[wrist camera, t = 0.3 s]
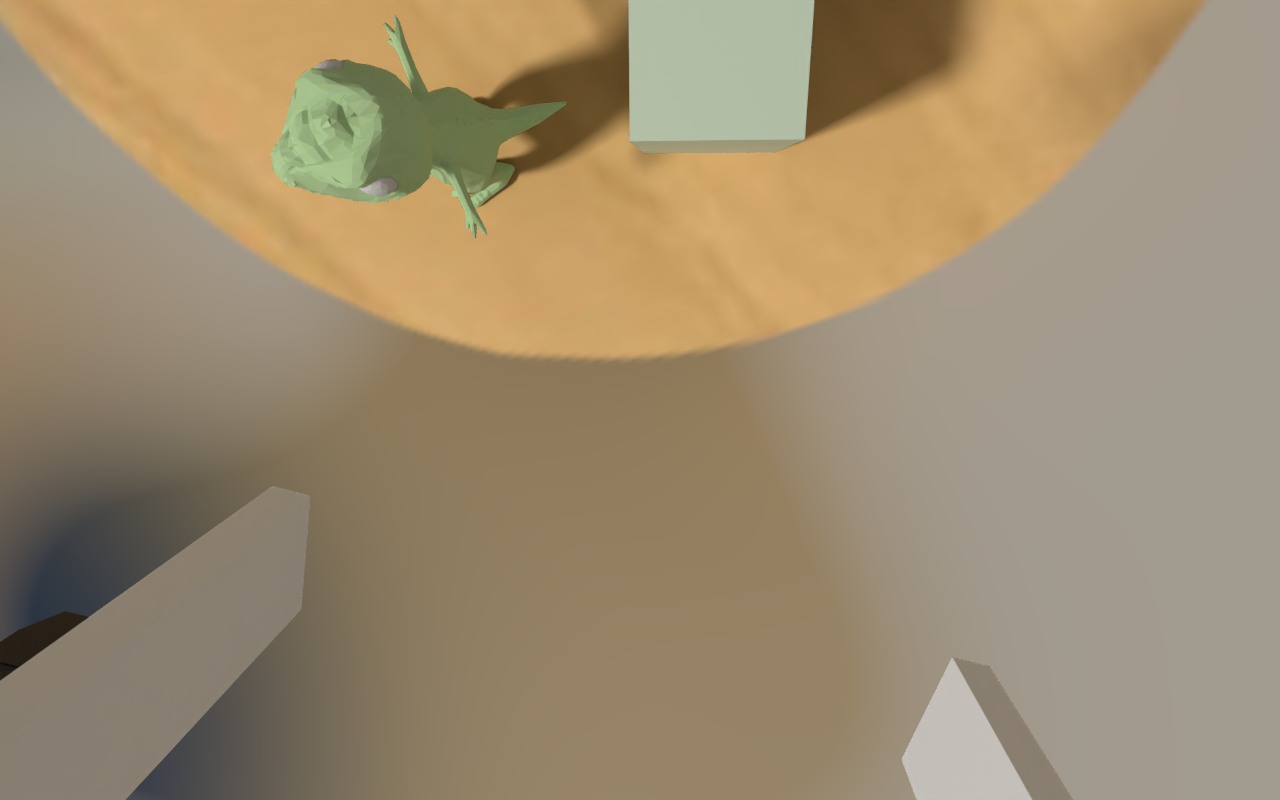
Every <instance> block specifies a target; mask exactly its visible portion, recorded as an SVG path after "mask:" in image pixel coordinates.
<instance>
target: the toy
mask: <svg viewBox="0 0 1280 800" xmlns="http://www.w3.org/2000/svg"><path fill="white" fill-rule="evenodd" d="M394 22H395V31H394V30H393V29H392V28H391V27H390V26H389V25H388V24H386V23H384V27H385V28H386V30H387V32H388V33H389V35H390V36H391V39H392V40H390V39H387V42H388V43H389V44H390V45H391V46H393V47H394V48H395V49H396V50H397V52H398V55H399V57H400V60H401V62H402V64H403V67H404V69H405V72H406V75H407V78H408V81H409V84H410V87H411V90H412V92H411V91H410V89H409V88H408V87H407V86H406V85H405V84H404V83H403V82H402V81H401V80H400V79H399V78H398V77H397V76H396V75H395V74H393V73H391V72H389V71H387V70H384V69H381V68H378V67H375V66H371V65H366V64H359V63H355V62H352V61H350V60H342V61H339V60H336V59H330V60H325V61H323V62H321V63H320V64H319V65H317V66H316V67H315V68H311V69H309V70H307V71H306V72H304V73H303V74H302V75H301V76H300V77H299V78H298V79H297V80H296V82H295V91H294V92H293V94H292V97H291V101H290V108H289V110H288V111H287V120H286V123H285V125H284V127H283V132H282V136H281V138H280V140H279V142H278V144H276V145H275V146H274V148H273V150H272V153H271V156H270V157H271V158H272V164H273V170H274V172H275V174H277V175H278V176H279V177H280V179H281V180H282V181H283V183H285V184H287V185H290V186H294V187H298V188H302V189H305V190H308V191H310V192H313V193H317V194H322V195H330V196H334V197H337V198H344V199H351V200H354V201H362V202H368V203H378V202H381V201H382V202H386V201H387V202H388V199H400V198H402V197H404V196H406V195H408V194H410V193H412V192H414V191H416V190H417V189H419V188H420V187H421V186H422V185H423V184H424V182H425V181H426V180H427V179H428V178H429V175H430V174H432V175H433V176H435V177H436V178H438V179H439V180H440V181H442V182H443V183H445V184H449V185H452V186H453V187H454V190H453V191H452V195H453V196H454V197H459V200H460V202H461V204H462V207H463V209H464V211H465V219H466V228H467V229H468V228H469V226H470V227H471V231H472V235H473V237H474V238H476V229H477V226H478V227H479V228H480V229H481V231H482V232H483V233H484V234H485V235H486V236H487V233H486V229H485V227H484V225H483V223H482V221H481V219H480V217H479V215H478V214H477V212H476V209H475V208H477V207H479V206H480V205H482V204H483V203H484V202H485V201H486V200H488V199H489V198H490V197H492V196H493V195H494V194H496V193H497V192H498V191H500V190H501V189H502V188H504V187H505V186H506V185H507V183H508V182H509V180H510V178H511V176H512V174H513V172H514V170H515V167H514V166H513V165H511V164H507V163H501V162H496V160H497V154H498V148H499V146H500V145H501V143H503V142H505V141H507V140H508V139H510V138H512V137H514V136H516V135H518V134H520V133H522V132H524V131H526V130H528V129H530V128H532V127H533V126H535V125H537V124H539V123H541V122H542V121H544V120H545V119H546V118H548V117H549V116H551V115H552V114H554V113H555V112H556V111H558V110H559V109H561V108H562V107H564V106H565V105H566V104H567V103H566V101H561V102H551V103H541V104H532V105H526V106H521V107H515V108H509V109H496V108H490V107H489V106H487V105H484V104H481V103H478V102H476V101H475V100H474V99H473V98H472V97H470V96H469V95H467V94H465V93H464V92H462V91H460V90H458V89H457V88H452V87H446V88H442V89H438V90H433V91H431V92H428V91H427V89H426V87H425V85H424V83H423V81H422V79H421V77H420V75H419V73H418V71H417V69H416V66H415V64H414V61H413V59H412V56H411V54H410V51H409V49H408V46H407V44H406V41H405V38H404V35H403V31H402V28H401V25H400V22H399V20H398V18H397V17H396V15H394ZM412 93H413V94H412ZM476 192H477V193H476ZM470 193H475V194H474V195H473V196H472V197H471V198H470V196H469V194H470Z"/></svg>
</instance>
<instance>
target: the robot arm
mask: <svg viewBox="0 0 1280 800" xmlns="http://www.w3.org/2000/svg"><path fill="white" fill-rule="evenodd" d="M309 504H310V496H309V495H305V494H302V493H298V492H293V491H290V490H286V489H282V488H277V487H274V486H273V487H271V488H269V489H268V490H266V491H265V492H264V493H262V494H261V495H259V496H258V497H257V498H255V499H254V500H252V501H251V502H250V503H248V504H247V505H245V506H244V507H243V508H241V509H240V510H239V511H237V512H236V513H235V514H233V515H232V516H230V517H229V518H227V519H226V520H224V521H223V522H222V523H220V524H219V525H217V526H216V527H215V528H213V529H212V530H211V531H209V532H208V533H206V534H205V535H203V536H202V537H201V538H199V539H198V540H196V541H195V542H194V543H192V544H191V545H189V546H188V547H187V548H185V549H184V550H182V551H181V552H180V553H178V554H177V555H176V556H174V557H173V558H171V559H170V560H168V561H167V562H166V563H164V564H163V565H162V566H160V567H159V568H157V569H156V570H154V571H153V572H152V573H150V574H149V575H147V576H146V577H145V578H143V579H142V580H141V581H139V582H138V583H136V584H135V585H133V586H132V587H131V588H129V589H128V590H126V591H125V592H124V593H122V594H121V595H119V596H118V597H117V598H115V599H114V600H112V601H111V602H110V603H108V604H107V605H105V606H104V607H103V608H101V609H100V610H98V611H97V612H96V613H94V614H93V615H91V616H90V617H86V616H82V615H78V614H74V613H70V612H66V611H65V612H62V613H60V614H57V615H55V616H52V617H50V618H47V619H45V620H42V621H40V622H37V623H35V624H32V625H30V626H28V627H25V628H22V629H20V630H18V631H16V632H15V633H13V634H12V635H10V636H9V637H7V638H6V639H4V640H3V641H1V642H0V800H125V799H126V798H127V797H128V796H129V795H130V794H131V793H132V792H133V791H134V790H135V789H136V787H137V786H138V785H139V784H140V783H141V782H142V781H143V780H144V779H145V778H146V777H147V776H148V775H149V773H150V772H151V771H152V770H153V769H154V768H155V767H156V766H157V765H158V764H159V763H160V761H161V760H162V759H163V758H164V757H165V756H166V755H167V754H168V753H169V752H170V751H171V750H172V749H173V747H174V746H175V745H176V744H177V743H178V742H179V741H180V740H181V739H182V738H183V737H184V736H185V734H186V733H187V732H188V731H189V730H190V729H191V728H192V727H193V726H194V725H195V724H196V722H197V721H198V720H199V719H200V718H201V717H202V716H203V715H204V714H205V713H206V712H207V710H209V708H210V707H211V706H212V705H213V704H214V703H215V702H216V701H217V700H218V699H219V698H220V697H221V695H222V694H223V693H224V692H225V691H226V690H227V689H228V688H229V687H230V686H231V685H232V683H233V682H234V681H235V680H236V679H237V678H238V677H239V676H240V675H241V674H242V673H243V672H244V670H245V669H246V668H247V667H248V666H249V665H250V664H251V663H252V662H253V661H254V660H255V659H256V657H257V656H258V655H259V654H260V653H261V652H262V651H263V650H264V649H265V648H266V647H267V645H268V644H269V643H270V642H271V641H272V640H273V639H274V638H275V637H276V636H277V635H278V634H279V633H280V631H281V630H282V629H283V628H284V627H285V626H286V625H287V624H288V623H289V622H290V621H291V620H292V618H293V617H294V616H295V615H296V614H297V613H298V612H299V611H300V610H301V605H302V592H303V580H304V566H305V554H306V541H307V529H308V517H309ZM902 762H903V764H904V767H905V770H906V772H907V775H908V778H909V780H910V783H911V786H912V788H913V791H914V794H915V797H916V799H917V800H1073V799H1072V797H1071V796H1070V794H1069V792H1068V791H1067V789H1066V788H1065V786H1064V785H1063V783H1062V781H1061V780H1060V778H1059V776H1058V775H1057V773H1056V772H1055V770H1054V768H1053V767H1052V765H1051V764H1050V762H1049V760H1048V759H1047V757H1046V756H1045V754H1044V753H1043V751H1042V750H1041V748H1040V746H1039V744H1038V743H1037V741H1036V740H1035V738H1034V737H1033V735H1032V733H1031V732H1030V730H1029V729H1028V727H1027V725H1026V724H1025V722H1024V721H1023V719H1022V718H1021V716H1020V714H1019V713H1018V711H1017V710H1016V708H1015V706H1014V705H1013V703H1012V701H1011V700H1010V698H1009V697H1008V695H1007V693H1006V692H1005V690H1004V689H1003V687H1002V686H1001V684H1000V682H999V681H998V679H997V677H996V676H995V674H994V673H993V671H992V670H991V668H990V666H986V665H982V664H977V663H974V662H970V661H966V660H962V659H958V658H954V657H952V659H951V661H950V663H949V665H948V667H947V669H946V671H945V673H944V675H943V677H942V679H941V681H940V683H939V685H938V687H937V689H936V691H935V693H934V695H933V697H932V699H931V701H930V703H929V705H928V707H927V709H926V711H925V713H924V715H923V717H922V719H921V721H920V723H919V726H918V727H917V730H916V731H915V733H914V735H913V737H912V740H911V742H910V744H909V746H908V748H907V750H906V752H905V754H904V756H903V758H902Z"/></svg>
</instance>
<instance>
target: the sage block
mask: <svg viewBox="0 0 1280 800" xmlns="http://www.w3.org/2000/svg"><path fill="white" fill-rule="evenodd" d="M813 14H814V0H629V108H630V142H631V143H632V144H634V145H635V146H636V147H637V148H638V149H640V150H641V151H642V152H643V153H644V154H650V153H757V152H778V151H780V150H782V149H784V148H787V147H789V146H791V145H793V144H796V143H798V142H800V141H802V140H805V129H806V115H807V101H808V86H809V72H810V57H811V43H812V28H813Z"/></svg>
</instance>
